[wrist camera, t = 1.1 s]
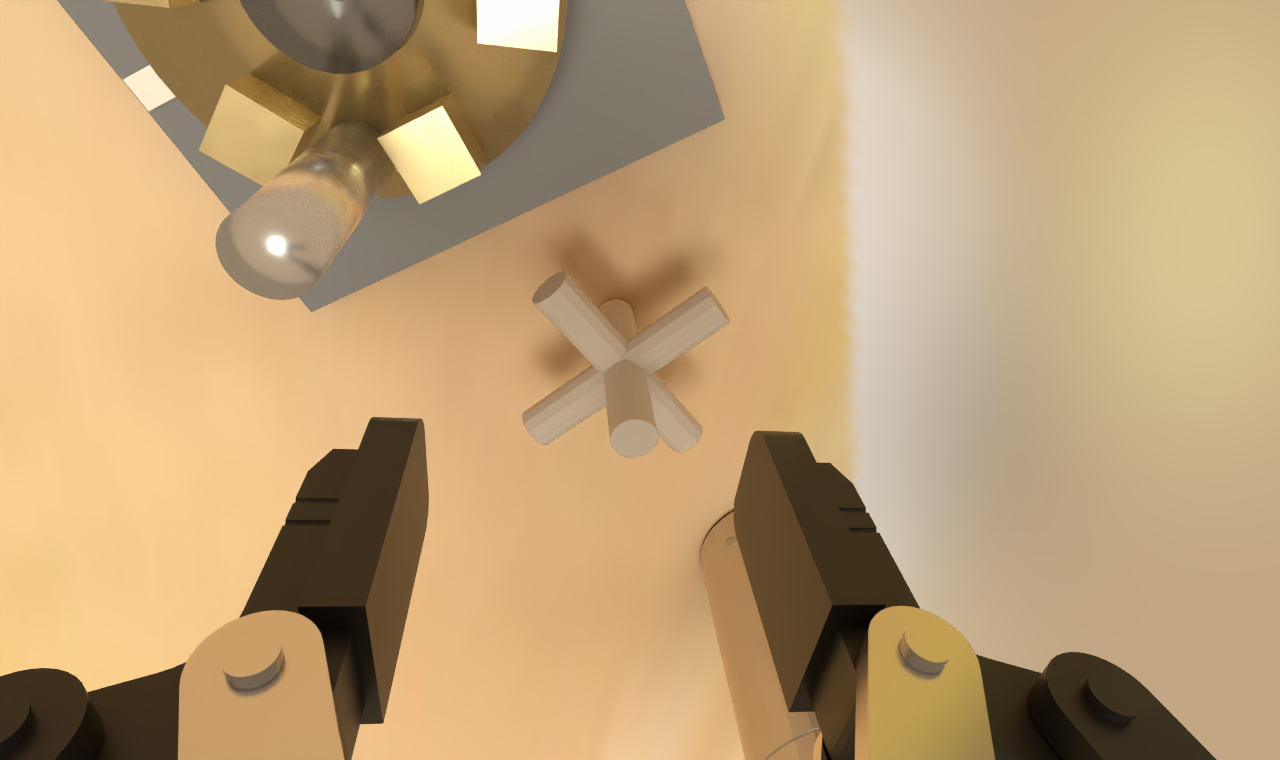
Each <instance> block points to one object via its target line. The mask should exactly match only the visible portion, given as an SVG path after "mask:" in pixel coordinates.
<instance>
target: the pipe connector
mask: <svg viewBox="0 0 1280 760" xmlns="http://www.w3.org/2000/svg"><path fill="white" fill-rule="evenodd" d="M532 301H533V303H534V304H535V305H536V306H537V307H538V308H539V309H540V310H541V312H542V313H543V314H544V315H545V316H546V317H547V318H548V319H549V320H550V321H551V322H552V323H553V324H554V325H555V326H556V327H557V328H558V329H559V331H560V332H561V333H562V334H563V335H564V336H565V337H566V338H567V339H568V340H569V341H570V342H571V343H572V344H573V345H574V346H575V347H576V348H577V349H578V351H579V352H580V353H581V354H582V355H583V356H584V357H585V358H586V359H587V360H588V361H589V362H590V363H591V364H592V365H591V366H590V367H588V368H587V369H585V370H584V371H583V372H581V373H580V374H578V375H577V376H575V377H574V378H572V379H571V380H570V381H568V382H567V383H565V384H564V385H562V386H561V387H559V388H558V389H557V390H555V391H554V392H552V393H551V394H549V395H548V396H546V397H545V398H544V399H542V400H541V401H539V402H538V403H536V404H535V405H533V406H532V407H531V408H529V409H528V410H526V411H525V412H524V413H523V415H522V418H523V423H524V426H525V427H526V429H527V431H528V433H529V434H530V435H531V437H532V438H533V439H534V440H535V441H536V442H538V443H539V444H541V445H547V444H549V443H550V442H552V441H553V440H555V439H556V438H558V437H559V436H561V435H562V434H564V433H565V432H567V431H568V430H570V429H571V428H573V427H574V426H576V425H577V424H579V423H580V422H582V421H583V420H585V419H586V418H588V417H589V416H591V415H592V414H594V413H595V412H597V411H598V410H600V409H601V408H603V407H604V406H606V405H607V414H608V424H609V433H610V443H611V446H612V448H613V449H614V450H615V451H616V452H617V453H618V454H620V455H622V456H625V457H630V458H633V457H640V456H643V455H646V454H648V453H649V452H650V451H652V450H653V449H654V447H655V446H656V444H657V441H658V435H659V436H660V437H661V438H662V439H663V440H664V441H665V442H666V443H667V444H668V445H669V447H670V448H671V449H672V450H673V451H674V452H683V451H686V450H688V449H690V448H691V447H692V446H694V445H695V444H696V443H697V442H698V440H699V438H700V437H701V435H702V426H701V425H700V424H699V423H698V422H697V420H696V419H695V418H694V417H693V416H692V415H691V414H690V413H689V411H688V410H687V409H686V408H685V407H684V406H683V405H682V404H681V402H680V401H679V400H678V399H677V398H676V397H675V396H674V394H673V393H672V392H671V391H670V390H669V389H668V388H667V387H666V385H665V384H664V383H663V382H662V381H661V380H660V379H659V378H658V376H657V375H656V374H655V372H657V371H658V370H660V369H661V368H663V367H664V366H666V365H667V364H669V363H670V362H672V361H673V360H675V359H676V358H678V357H679V356H681V355H682V354H684V353H685V352H687V351H688V350H690V349H691V348H693V347H694V346H696V345H697V344H699V343H700V342H702V341H703V340H705V339H706V338H708V337H709V336H711V335H712V334H714V333H715V332H717V331H718V330H720V329H721V328H722V327H724V326H725V325H727V324H728V323H730V320H729V318H728V316H727V314H726V312H725V310H724V309H723V307H722V306H721V304H720V303H719V301H718V300H717V298H716V297H715V296H714V294H713V293H712V292H711V291H710V289H709V288H708V287H704V288H703V289H701V290H700V291H698V292H697V293H695V294H694V295H693V296H691V297H690V298H688V299H687V300H685V301H684V302H682V303H681V304H680V305H678V306H677V307H675V308H674V309H672V310H671V311H669V312H668V313H667V314H665V315H664V316H662V317H661V318H659V319H658V320H656V321H655V322H654V323H652V324H651V325H649V326H648V327H646V328H645V329H643V330H642V331H640V332H639V333H637V328H636V323H635V318H634V313H633V310H632V308H631V306H630V305H629V304H628V303H627V302H625V301H623V300H620V299H612V300H608V301H606V302H605V303H603V304H602V305H601V306H600V308H599V310H598V309H597V308H596V307H595V305H594V304H593V303H592V302H591V301H590V300H589V299H588V298H587V296H586V295H585V294H584V293H583V292H582V291H581V290H580V289H579V287H578V286H577V285H576V284H575V283H574V282H573V281H572V280H571V278H570V277H569V276H568V275H567V274H566V273H565V272H559V273H557V274H555V275H553V276H552V277H550V278H549V279H548V280H546V281H545V282H544V283H543V284H542V285H541V286H540V287H539V288H538V290H537V291H536V292H535V294H534V296H533V299H532Z"/></svg>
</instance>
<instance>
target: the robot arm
mask: <svg viewBox="0 0 1280 760" xmlns="http://www.w3.org/2000/svg"><path fill="white" fill-rule="evenodd" d="M428 504H429V492H428V476H427V461H426V446H425V431H424V423H423V420H422V419H413V418H383V417H372V418H371V420H370V421H369V423H368V426H367V428H366V431H365V434H364V436H363V439H362V441H361V444H360V447H359V449H358V450H354V449H333V450H331V451H330V452H329V453H328V454H327V455H326V456H325V457H324V458H322V459H321V460H320V461H319V462H318V463H317V464H316V465H315V466H313V467H312V468H311V469H310V470H309V471H308V472H307V475H306V477H305V479H304V481H303V483H302V485H301V488H300V490H299V492H298V494H297V496H296V502H295V503H293V505H292V507H291V509H290V511H289V513H288V516H287V518H286V523H285V526H282V528H281V531H280V533H279V535H278V537H277V539H276V541H275V543H274V546H273V548H272V550H271V552H270V554H269V556H268V559H267V561H266V563H265V565H264V567H263V569H262V571H261V574H260V576H259V578H258V580H257V582H256V584H255V587H254V589H253V591H252V593H251V595H250V597H249V599H248V602H247V604H246V606H245V608H244V610H243V612H242V614H241V616H240V617H239V618H238V619H236V620H234V621H232V622H229V623H227V624H226V625H224V626H222V627H221V628H219V629H217V630H216V631H215V632H213V633H212V634H211V635H210V636H208V637H207V638H206V639H205V640H204V641H203V642H202V643H201V644H200V645H199V646H198V647H197V648H196V649H195V650H194V652H193V653H192V654H191V656H190V657H189V659H188V661H187V662H185V663H183V664H181V665H178V666H176V667H174V668H171V669H168V670H165V671H162V672H159V673H156V674H152V675H149V676H145V677H141V678H138V679H134V680H130V681H127V682H123V683H119V684H116V685H112V686H109V687H105V688H101V689H98V690H94V691H90V692H87V691H86V689H85V688H84V686H83V684H82V682H81V681H80V680H79V679H78V678H77V677H76V676H74V675H72V674H70V673H68V672H66V671H62V670H58V669H49V668H39V669H29V670H23V671H18V672H14V673H11V674H7V675H4V676H1V677H0V760H351V758H352V754H353V750H354V746H355V742H356V738H357V734H358V730H359V726H360V724H381V723H383V722H384V718H385V713H386V708H387V704H388V699H389V695H390V690H391V686H392V681H393V677H394V672H395V668H396V663H397V659H398V654H399V650H400V645H401V640H402V636H403V631H404V627H405V622H406V618H407V613H408V609H409V604H410V600H411V595H412V591H413V586H414V582H415V577H416V573H417V568H418V563H419V559H420V554H421V550H422V545H423V541H424V536H425V532H426V526H427V518H428ZM700 561H701V565H702V570H703V574H704V579H705V583H706V588H707V592H708V597H709V601H710V606H711V610H712V616H713V621H714V625H715V629H716V634H717V638H718V643H719V647H720V651H721V656H722V660H723V665H724V669H725V673H726V678H727V682H728V686H729V691H730V695H731V700H732V704H733V708H734V713H735V717H736V722H737V726H738V730H739V735H740V739H741V744H742V748H743V752H744V757H745V760H1216V759H1215V758H1214V757H1213V756H1212V755H1211V754H1210V753H1209V752H1208V751H1207V750H1206V748H1204V746H1203V745H1201V743H1200V742H1199V741H1198V740H1197V739H1195V737H1194V736H1192V734H1190V732H1189V731H1188V730H1187V729H1186V728H1185V727H1184V726H1183V725H1182V724H1181V723H1180V722H1179V721H1178V720H1177V719H1176V718H1175V717H1174V716H1173V715H1172V714H1171V713H1170V712H1169V711H1168V710H1167V709H1166V708H1165V707H1164V706H1163V705H1162V704H1161V703H1160V702H1159V701H1158V700H1157V699H1156V698H1155V697H1154V696H1153V695H1152V694H1151V693H1150V691H1149V690H1148V689H1146V688H1145V687H1144V686H1143V685H1142V684H1141V683H1140V682H1139V681H1138V680H1136V679H1135V678H1134V677H1133V676H1131V675H1130V674H1128V673H1127V672H1125V671H1124V670H1122V669H1121V668H1119V667H1118V666H1116V665H1114V664H1112V663H1110V662H1108V661H1106V660H1104V659H1101V658H1099V657H1096V656H1093V655H1090V654H1085V653H1079V652H1069V653H1063V654H1060V655H1057V656H1056V657H1054V658H1053V659H1052V660H1051V661H1050V663H1049V664H1048V666H1047V667H1046V668H1045V670H1044V671H1043V672H1042V673H1039V672H1035V671H1032V670H1028V669H1024V668H1021V667H1017V666H1014V665H1010V664H1006V663H1003V662H999V661H995V660H992V659H988V658H985V657H982V656H979V655H976V654H975V652H974V650H973V649H972V647H971V645H970V644H969V643H968V641H967V640H966V639H965V638H964V636H963V635H962V634H961V633H959V631H957V630H956V629H955V628H954V627H953V626H952V625H950V624H949V623H948V622H946V621H945V620H943V619H941V618H940V617H938V616H936V615H934V614H932V613H930V612H927V611H925V610H922V609H920V607H919V606H918V604H917V602H916V600H915V598H914V597H913V595H912V593H911V591H910V589H909V587H908V585H907V583H906V582H905V580H904V578H903V576H902V574H901V572H900V571H899V569H898V567H897V565H896V563H895V561H894V559H893V558H892V556H891V554H890V552H889V550H888V548H887V546H886V545H885V543H884V541H883V539H882V537H881V535H880V533H877V532H876V526H875V524H874V522H873V520H872V519H871V517H870V515H869V513H866V507H865V506H864V504H863V502H862V500H861V498H860V496H859V494H858V493H857V491H856V489H855V487H854V485H853V484H852V483H851V482H850V481H849V480H848V479H847V478H846V477H845V476H844V475H843V474H841V473H840V472H839V471H838V470H837V469H836V468H835V467H834V466H833V465H832V464H831V463H817V462H816V460H815V458H814V456H813V454H812V452H811V450H810V448H809V446H808V444H807V442H806V440H805V438H804V436H803V435H802V434H801V433H799V432H778V431H755V432H754V433H753V435H752V437H751V439H750V443H749V446H748V450H747V454H746V458H745V462H744V466H743V470H742V474H741V477H740V481H739V485H738V489H737V493H736V497H735V502H734V511H733V512H732V513H730V514H729V515H727V516H726V517H724V518H723V519H722V520H721V521H720V522H719V523H718V524H717V525H716V526H715V527H714V528H712V530H711V531H710V533H709V534H708V536H707V537H706V539H705V541H704V544H703V546H702V549H701V560H700Z"/></svg>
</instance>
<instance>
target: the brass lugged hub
mask: <svg viewBox="0 0 1280 760" xmlns="http://www.w3.org/2000/svg"><path fill="white" fill-rule="evenodd" d="M104 1H113V3H114V5H115V7H116V10H117V12H118V14H119V16H120V18H121V19H122V21H123V23H124V25H125V26H126V28H127V30H128V32H129V33H130V35H131V37H132V39H133V40H134V42H135V44H136V46H137V47H138V49H139V50H140V52H141V53H142V54H143V56H144V57H145V59H146V60H147V61H148V63H149V64H150V66H151V67H152V68H153V70H154V71H155V73H156V74H157V75H158V77H159V78H160V79H161V80H162V81H163V83H164V84H165V85H166V86H167V87H168V88H169V89H170V91H171V92H172V93H173V94H174V95H175V96H176V98H177V99H178V100H179V101H180V102H181V103H182V104H183V105H184V106H185V107H186V108H187V109H188V110H189V111H190V112H191V113H192V114H193V115H194V116H195V117H196V118H198V119H199V120H200V121H201V122H202V123H203V124H204V125H205V126H206V127H207V131H206V133H205V136H204V138H203V141H202V143H201V146H200V148H199V151H201V152H203V153H204V154H206V155H208V156H210V157H212V158H213V159H215V160H217V161H219V162H220V163H222V164H224V165H226V166H228V167H229V168H231V169H233V170H235V171H237V172H238V173H240V174H242V175H244V176H245V177H247V178H249V179H251V180H253V181H254V182H256V183H258V184H260V185H262V186H263V187H262V188H261V189H259V190H258V191H257V192H256V193H255V194H254V195H252V196H251V197H250V198H249V199H248V200H247V201H245V202H244V203H243V204H242V205H241V206H239V207H238V208H237V209H236V210H235V211H234V212H232V213H231V214H230V215H229V216H228V217H226V218H225V219H224V221H223V222H222V223H221V225H220V227H219V228H218V231H217V235H216V250H217V254H218V257H219V260H220V262H221V264H222V266H223V267H224V269H225V270H226V272H227V273H228V274H229V275H230V276H231V277H232V279H233V280H234V281H236V282H237V283H238V284H239V285H241V286H242V287H243V288H245V289H247V290H248V291H250V292H252V293H254V294H257V295H259V296H262V297H266V298H270V299H278V300H286V299H293V298H297V297H299V296H302V295H304V294H306V293H308V292H309V291H310V290H311V289H312V288H313V287H314V286H315V285H316V284H317V282H318V281H319V279H320V278H321V277H322V275H323V274H324V272H325V271H326V269H327V268H328V267H329V265H330V264H331V262H332V261H333V259H334V258H335V256H336V255H337V254H338V252H339V251H340V249H341V248H342V246H343V245H344V244H345V242H346V241H347V239H348V238H349V236H350V235H351V233H352V232H353V231H354V229H355V228H356V226H357V225H358V223H359V222H360V221H361V219H362V218H363V216H364V215H365V213H366V212H367V210H368V209H369V208H370V206H371V205H372V203H373V202H374V200H375V199H376V198H377V197H381V198H392V197H401V196H410V195H414V197H415V198H416V200H417V201H418V203H419V204H421V203H424V202H426V201H428V200H430V199H432V198H434V197H436V196H438V195H440V194H442V193H444V192H446V191H449V190H451V189H453V188H455V187H457V186H459V185H461V184H463V183H465V182H467V181H469V180H471V179H473V178H476V177H478V176H480V175H482V172H483V169H484V167H485V166H486V165H488V164H489V163H490V162H491V161H493V160H494V159H495V158H497V157H498V156H499V155H500V154H502V153H503V152H504V151H505V150H506V149H507V148H508V147H509V146H510V145H511V144H512V143H513V141H514V140H515V139H516V138H517V137H518V136H519V135H520V134H521V133H522V131H523V130H524V129H525V127H526V126H527V124H528V123H529V122H530V120H531V119H532V117H533V116H534V115H535V113H536V111H537V109H538V108H539V106H540V104H541V102H542V100H543V98H544V96H545V94H546V93H547V91H548V88H549V86H550V83H551V80H552V78H553V75H554V72H555V70H556V67H557V64H558V61H559V56H560V52H561V48H562V44H563V39H564V35H565V26H566V17H567V8H568V0H104Z"/></svg>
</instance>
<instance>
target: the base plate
mask: <svg viewBox="0 0 1280 760" xmlns="http://www.w3.org/2000/svg"><path fill="white" fill-rule="evenodd" d="M57 1H58V2H59V3H60V4H61V6H62V7H63V8H64V9H65V11H66V12H67V13H68V14H69V15H70V17H71V18H72V19H73V20H74V22H75V23H76V24H77V25H78V27H79V28H80V29H81V30H82V31H83V33H84V34H85V35H86V36H87V38H88V39H89V40H90V41H91V42H92V44H93V45H94V46H95V47H96V49H97V50H98V51H99V52H100V53H101V55H102V56H103V57H104V58H105V60H106V61H107V62H108V63H109V65H110V66H111V67H112V68H113V69H114V71H115V72H116V73H117V74H118V76H119V77H120V78H121V79H122V80H123V82H124V83H125V84H126V85H127V87H128V88H129V89H130V90H131V92H132V93H133V94H134V95H135V96H136V98H137V99H138V100H139V101H140V103H141V104H142V105H143V106H144V107H145V109H146V110H147V111H148V112H149V114H150V115H151V116H152V117H153V118H154V120H155V121H156V122H157V123H158V125H159V126H160V127H161V128H162V130H163V131H164V132H165V133H166V134H167V136H168V137H169V138H170V139H171V141H172V142H173V143H174V144H175V145H176V147H177V148H178V149H179V150H180V152H181V153H182V154H183V155H184V156H185V158H186V159H187V160H188V161H189V163H190V164H191V165H192V166H193V168H194V169H195V170H196V171H197V172H198V174H199V175H200V176H201V177H202V179H203V180H204V181H205V182H206V183H207V185H208V186H209V187H210V188H211V190H212V191H213V192H214V193H215V195H216V196H217V197H218V198H219V199H220V201H221V202H222V203H223V204H224V206H225V207H226V208H227V209H228V210H229V212H230V213H232V212H234V211H235V210H236V209H237V208H238V207H239V206H241V205H242V204H243V203H244V202H245V201H247V200H248V199H249V198H250V197H251V196H252V195H254V194H255V193H256V192H257V191H258V190H259V189H261V188H262V187H263V186H262V185H260V184H258V183H256V182H254V181H253V180H251V179H249V178H247V177H245V176H244V175H242V174H240V173H238V172H237V171H235V170H233V169H231V168H229V167H228V166H226V165H224V164H222V163H220V162H219V161H217V160H215V159H213V158H212V157H210V156H208V155H206V154H204V153H203V152H201V151H199V148H200V146H201V143H202V141H203V138H204V136H205V133H206V131H207V127H206V126H205V125H204V124H203V123H202V122H201V121H200V120H199V119H198V118H196V117H195V116H194V115H193V114H192V113H191V112H190V111H189V110H188V109H187V108H186V107H185V106H184V105H183V104H182V103H181V102H180V101H179V100H178V99H177V98H176V96H175V95H174V94H173V93H172V92H171V91H170V89H169V88H168V87H167V86H166V85H165V84H164V83H163V81H162V80H161V79H160V78H159V77H158V75H157V74H156V73H155V71H154V70H153V68H152V67H151V66H150V64H149V63H148V61H147V60H146V59H145V57H144V56H143V54H142V53H141V52H140V50H139V49H138V47H137V46H136V44H135V42H134V40H133V39H132V37H131V35H130V33H129V32H128V30H127V28H126V26H125V25H124V23H123V21H122V19H121V18H120V16H119V14H118V12H117V10H116V7H115V5H114V3H113V1H104V0H57ZM724 119H725V118H724V115H723V112H722V109H721V106H720V103H719V100H718V97H717V95H716V92H715V89H714V86H713V83H712V80H711V77H710V74H709V71H708V68H707V65H706V62H705V59H704V57H703V54H702V51H701V48H700V45H699V42H698V39H697V36H696V33H695V30H694V27H693V24H692V21H691V18H690V16H689V13H688V10H687V7H686V4H685V1H684V0H568V8H567V17H566V26H565V35H564V39H563V44H562V48H561V52H560V56H559V61H558V64H557V67H556V70H555V72H554V75H553V78H552V80H551V83H550V86H549V88H548V91H547V93H546V94H545V96H544V98H543V100H542V102H541V104H540V106H539V108H538V109H537V111H536V113H535V115H534V116H533V117H532V119H531V120H530V122H529V123H528V124H527V126H526V127H525V129H524V130H523V131H522V133H521V134H520V135H519V136H518V137H517V138H516V139H515V140H514V141H513V143H512V144H511V145H510V146H509V147H508V148H507V149H506V150H505V151H504V152H503V153H502V154H500V155H499V156H498V157H497V158H495V159H494V160H493V161H491V162H490V163H489V164H488V165H486V166H485V167H484V169H483V172H482V175H480V176H478V177H476V178H473V179H471V180H469V181H467V182H465V183H463V184H461V185H459V186H457V187H455V188H453V189H451V190H449V191H446V192H444V193H442V194H440V195H438V196H436V197H434V198H432V199H430V200H428V201H426V202H424V203H421V204H419V203H418V201H417V200H416V198H415V197H414V195H410V196H401V197H392V198H381V197H377V198H376V199H375V200H374V202H373V203H372V205H371V206H370V208H369V209H368V210H367V212H366V213H365V215H364V216H363V218H362V219H361V221H360V222H359V223H358V225H357V226H356V228H355V229H354V231H353V232H352V233H351V235H350V236H349V238H348V239H347V241H346V242H345V244H344V245H343V246H342V248H341V249H340V251H339V252H338V254H337V255H336V256H335V258H334V259H333V261H332V262H331V264H330V265H329V267H328V268H327V269H326V271H325V272H324V274H323V275H322V277H321V278H320V279H319V281H318V282H317V284H316V285H315V286H314V287H313V288H312V289H311V290H310V291H309V292H308V293H306V294H304V295H302V296H299V298H300V299H301V300H302V301H303V302H304V304H305V305H306V306H307V307H308V309H309V310H310V311H311V312H313V311H315V310H317V309H319V308H321V307H323V306H326V305H328V304H330V303H332V302H334V301H336V300H338V299H341V298H343V297H345V296H347V295H349V294H351V293H353V292H356V291H358V290H360V289H362V288H364V287H366V286H368V285H371V284H373V283H375V282H377V281H379V280H381V279H383V278H386V277H388V276H390V275H392V274H394V273H396V272H398V271H401V270H403V269H405V268H407V267H409V266H411V265H413V264H416V263H418V262H420V261H422V260H424V259H426V258H428V257H431V256H433V255H435V254H437V253H439V252H441V251H443V250H446V249H448V248H450V247H452V246H454V245H456V244H458V243H461V242H463V241H465V240H467V239H469V238H471V237H473V236H476V235H478V234H480V233H482V232H484V231H486V230H488V229H491V228H493V227H495V226H497V225H499V224H501V223H503V222H506V221H508V220H510V219H512V218H514V217H516V216H518V215H521V214H523V213H525V212H527V211H529V210H531V209H533V208H536V207H538V206H540V205H542V204H544V203H546V202H548V201H551V200H553V199H555V198H557V197H559V196H561V195H563V194H566V193H568V192H570V191H572V190H574V189H576V188H578V187H581V186H583V185H585V184H587V183H589V182H591V181H593V180H596V179H598V178H600V177H602V176H604V175H606V174H608V173H611V172H613V171H615V170H617V169H619V168H621V167H623V166H625V165H628V164H630V163H632V162H634V161H636V160H638V159H640V158H643V157H645V156H647V155H649V154H651V153H653V152H655V151H658V150H660V149H662V148H664V147H666V146H668V145H670V144H673V143H675V142H677V141H679V140H681V139H683V138H685V137H688V136H690V135H692V134H694V133H696V132H698V131H700V130H703V129H705V128H707V127H709V126H711V125H713V124H715V123H718V122H720V121H722V120H724Z"/></svg>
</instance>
